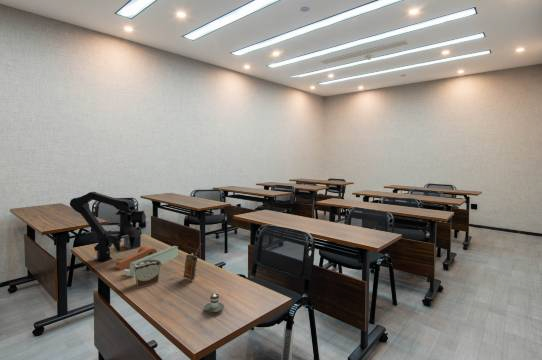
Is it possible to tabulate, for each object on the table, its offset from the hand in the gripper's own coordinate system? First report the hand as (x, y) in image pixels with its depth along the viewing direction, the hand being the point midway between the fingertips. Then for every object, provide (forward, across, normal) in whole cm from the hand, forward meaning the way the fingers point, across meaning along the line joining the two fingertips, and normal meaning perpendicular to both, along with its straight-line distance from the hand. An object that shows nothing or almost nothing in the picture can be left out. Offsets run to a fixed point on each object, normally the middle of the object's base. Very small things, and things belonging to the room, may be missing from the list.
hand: (125, 249), depth 163 cm
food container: (+6, -19, -33) cm, 39 cm away
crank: (+6, -1, -10) cm, 12 cm away
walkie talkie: (+6, -8, -48) cm, 48 cm away
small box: (+6, +18, +14) cm, 24 cm away
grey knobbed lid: (+6, -25, -74) cm, 78 cm away
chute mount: (+6, 0, -21) cm, 21 cm away
